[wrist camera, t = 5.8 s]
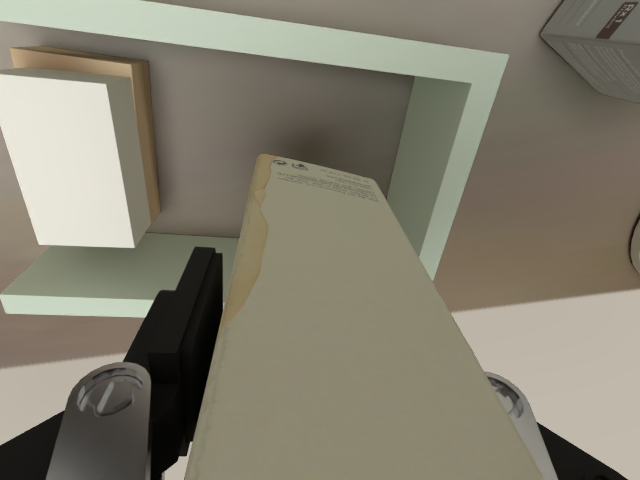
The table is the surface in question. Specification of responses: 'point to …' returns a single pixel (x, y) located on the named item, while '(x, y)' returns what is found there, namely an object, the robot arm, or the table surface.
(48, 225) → the offcut upper
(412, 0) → the table surface
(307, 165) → the skincare box
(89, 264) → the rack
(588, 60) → the skincare box
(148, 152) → the offcut lower
